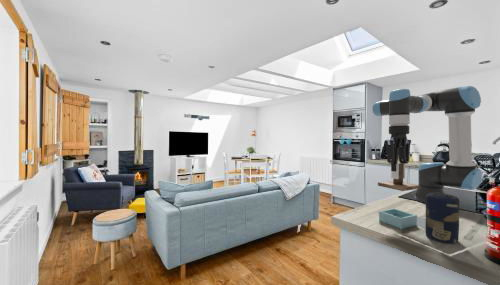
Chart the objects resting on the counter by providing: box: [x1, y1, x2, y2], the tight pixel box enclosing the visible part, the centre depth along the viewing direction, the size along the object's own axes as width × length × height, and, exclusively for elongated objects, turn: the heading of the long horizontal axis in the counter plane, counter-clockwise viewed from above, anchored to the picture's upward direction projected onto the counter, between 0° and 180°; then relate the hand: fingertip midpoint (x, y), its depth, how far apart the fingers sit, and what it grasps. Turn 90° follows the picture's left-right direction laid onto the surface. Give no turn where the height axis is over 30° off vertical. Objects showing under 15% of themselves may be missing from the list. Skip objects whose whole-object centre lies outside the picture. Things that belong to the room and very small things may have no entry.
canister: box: [424, 192, 460, 244], centre depth 82 cm, size 10×10×18 cm
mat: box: [417, 215, 426, 229], centre depth 98 cm, size 12×12×1 cm
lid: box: [377, 162, 420, 192], centre depth 96 cm, size 11×11×10 cm
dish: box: [378, 208, 418, 230], centre depth 97 cm, size 10×10×5 cm
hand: (398, 178), depth 96 cm, fingers closed on lid, 4 cm apart
